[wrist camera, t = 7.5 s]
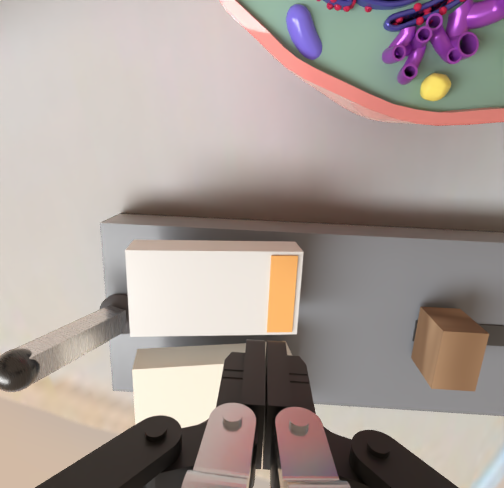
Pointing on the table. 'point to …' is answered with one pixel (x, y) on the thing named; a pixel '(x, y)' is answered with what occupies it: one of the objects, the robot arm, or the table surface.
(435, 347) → the slider knob
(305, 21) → the cell model
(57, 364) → the toggle lever
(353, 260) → the panel
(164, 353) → the block
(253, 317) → the rocker white
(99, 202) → the table surface
